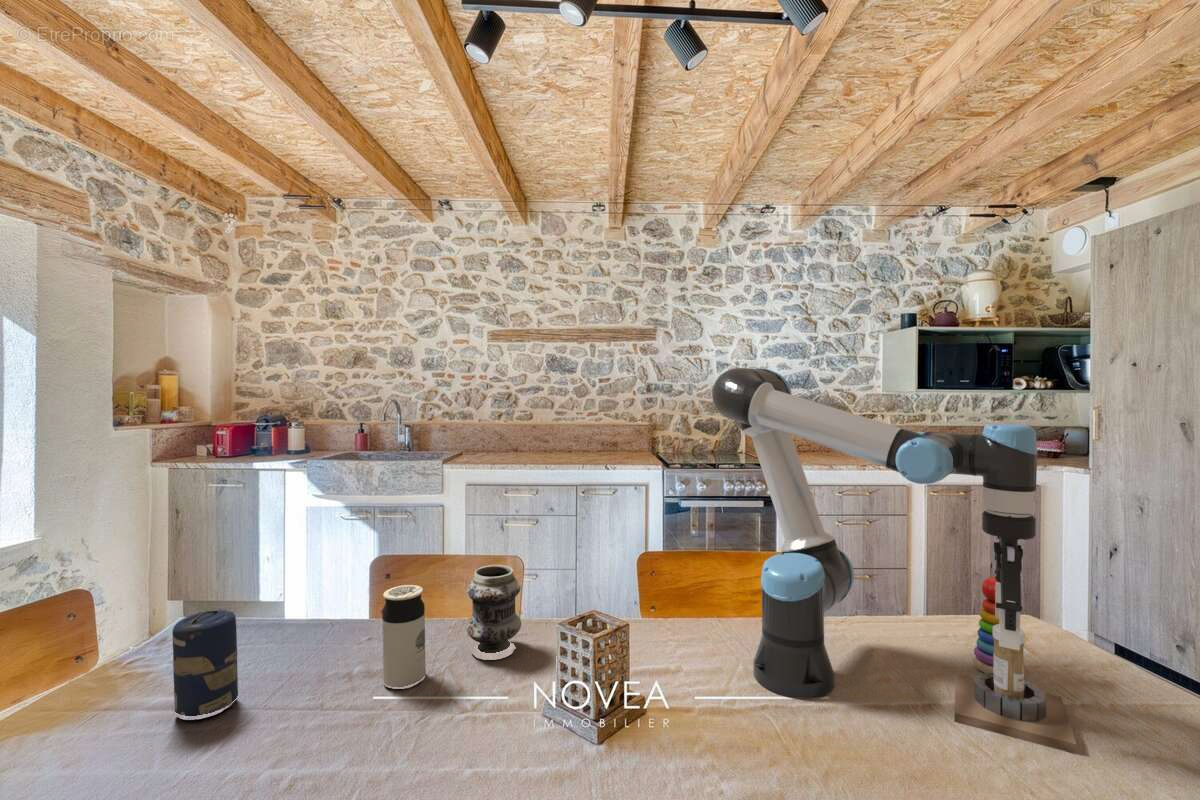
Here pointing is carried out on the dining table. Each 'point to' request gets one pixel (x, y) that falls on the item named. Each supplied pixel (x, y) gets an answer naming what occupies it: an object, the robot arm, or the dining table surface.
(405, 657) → the travel mug
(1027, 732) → the base board
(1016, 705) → the collar
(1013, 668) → the sprinkles bottle
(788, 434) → the robot arm
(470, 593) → the apothecary jar
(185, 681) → the canister
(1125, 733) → the dining table surface
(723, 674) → the dining table surface
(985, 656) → the stacking toy
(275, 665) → the dining table surface
